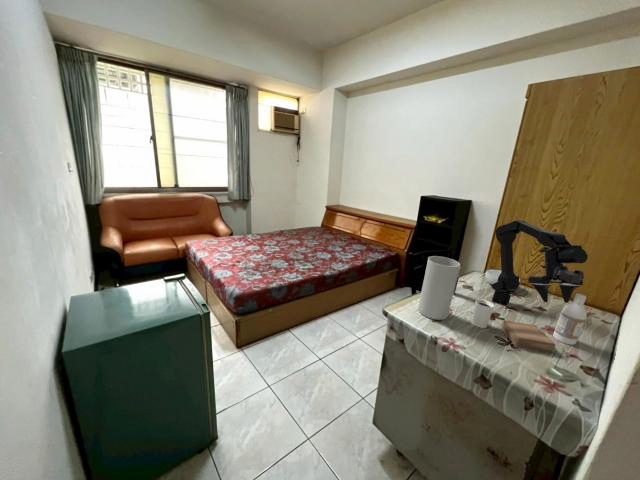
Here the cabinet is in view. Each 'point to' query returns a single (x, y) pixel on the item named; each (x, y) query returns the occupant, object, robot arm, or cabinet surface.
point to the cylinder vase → (438, 287)
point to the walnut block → (528, 336)
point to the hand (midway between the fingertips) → (556, 302)
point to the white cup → (482, 313)
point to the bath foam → (571, 321)
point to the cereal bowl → (493, 276)
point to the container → (457, 280)
